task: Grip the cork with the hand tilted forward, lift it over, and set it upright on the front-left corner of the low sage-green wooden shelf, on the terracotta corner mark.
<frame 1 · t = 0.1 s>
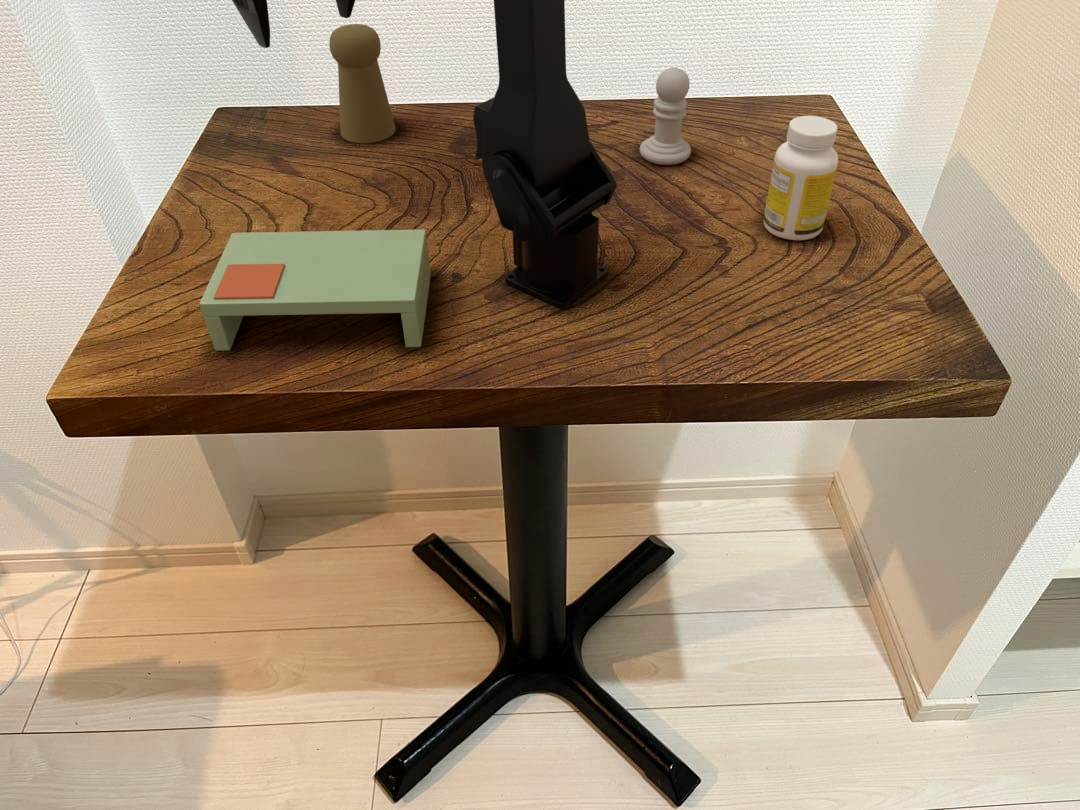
hand: (306, 31, 77), 15 cm above the table, tool pointing down, fingers open, 9 cm apart
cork: (368, 132, 95), on the table
chess piece: (664, 156, 90), on the table
shelf: (328, 310, 70), on the table
supplement bottle: (791, 228, 79), on the table
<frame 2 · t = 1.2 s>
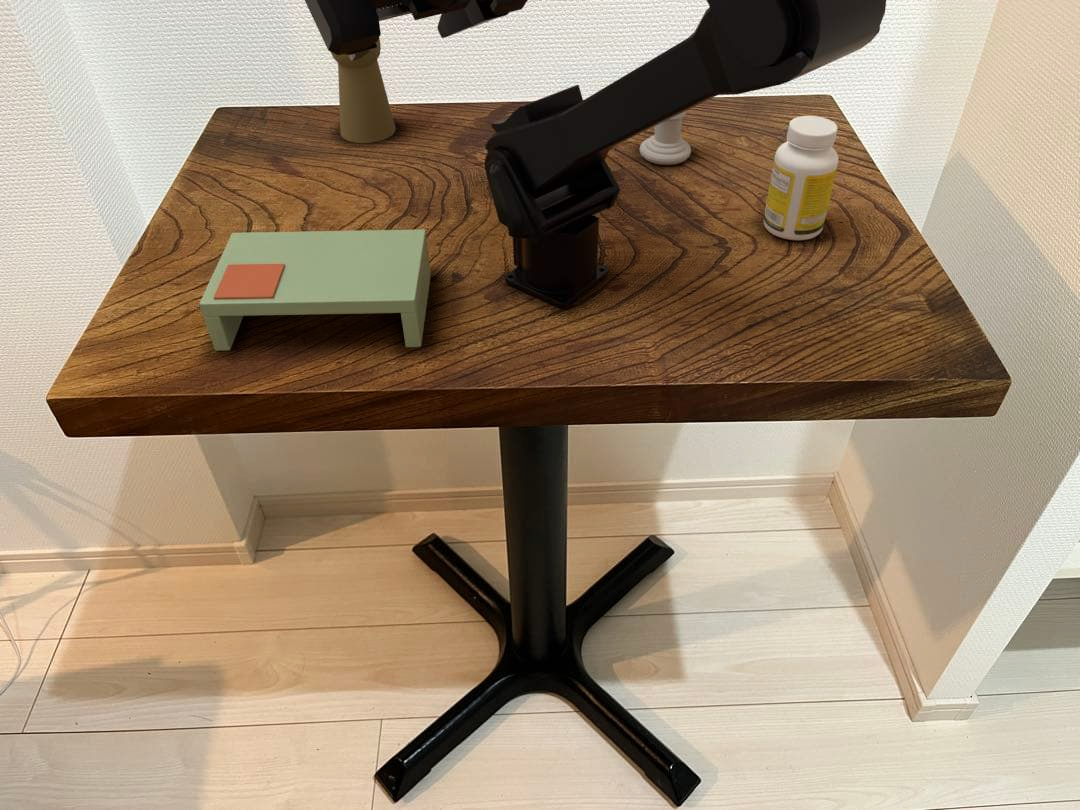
hand: (397, 44, 78), 13 cm above the table, tool tilted 45°, fingers open, 9 cm apart
nothing on the table moved.
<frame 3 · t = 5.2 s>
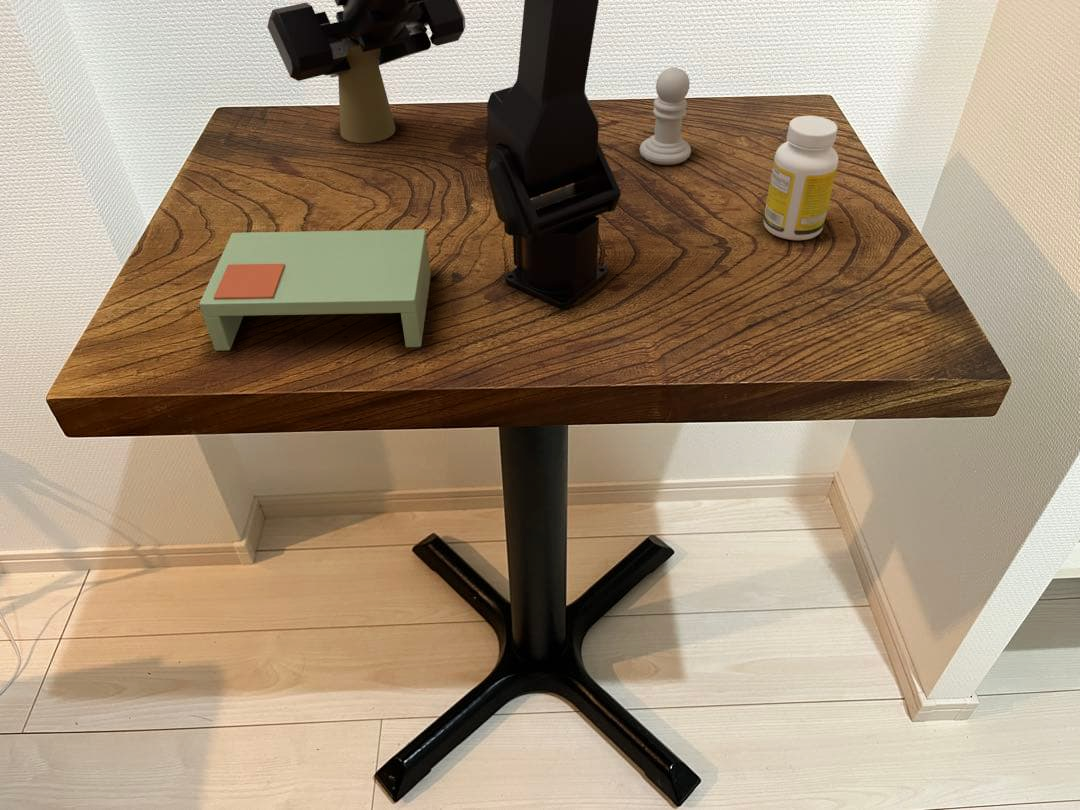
hand: (353, 67, 91), 7 cm above the table, tool tilted 45°, fingers closed on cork, 5 cm apart
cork: (368, 132, 95), on the table, touching gripper
everything else where it was.
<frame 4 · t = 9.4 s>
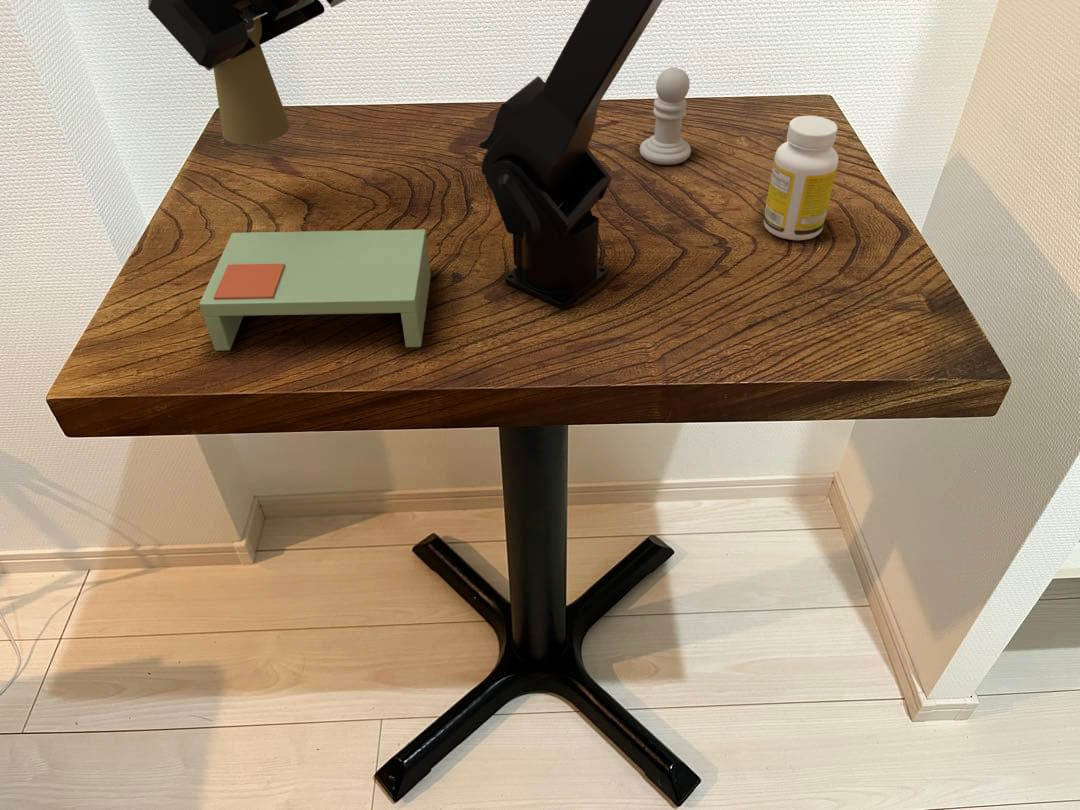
hand: (226, 54, 75), 14 cm above the table, tool tilted 45°, fingers closed on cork, 5 cm apart
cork: (257, 131, 79), point 7 cm above the table, touching gripper
everything else where it was.
when the fingers open (11 cm above the table, at t = 13.6 s): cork stays where it is, resting on shelf.
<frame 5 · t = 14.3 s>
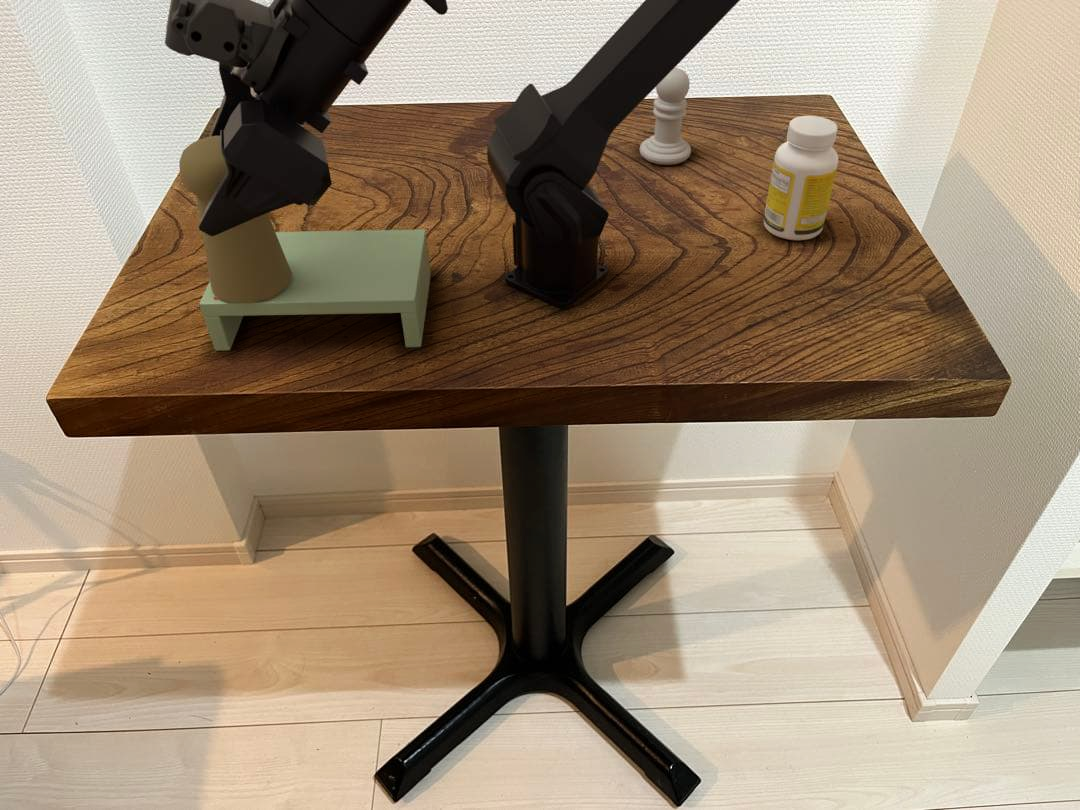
hand: (205, 198, 60), 12 cm above the table, tool tilted 45°, fingers open, 9 cm apart
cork: (252, 282, 66), point 5 cm above the table, touching shelf
everything else where it was.
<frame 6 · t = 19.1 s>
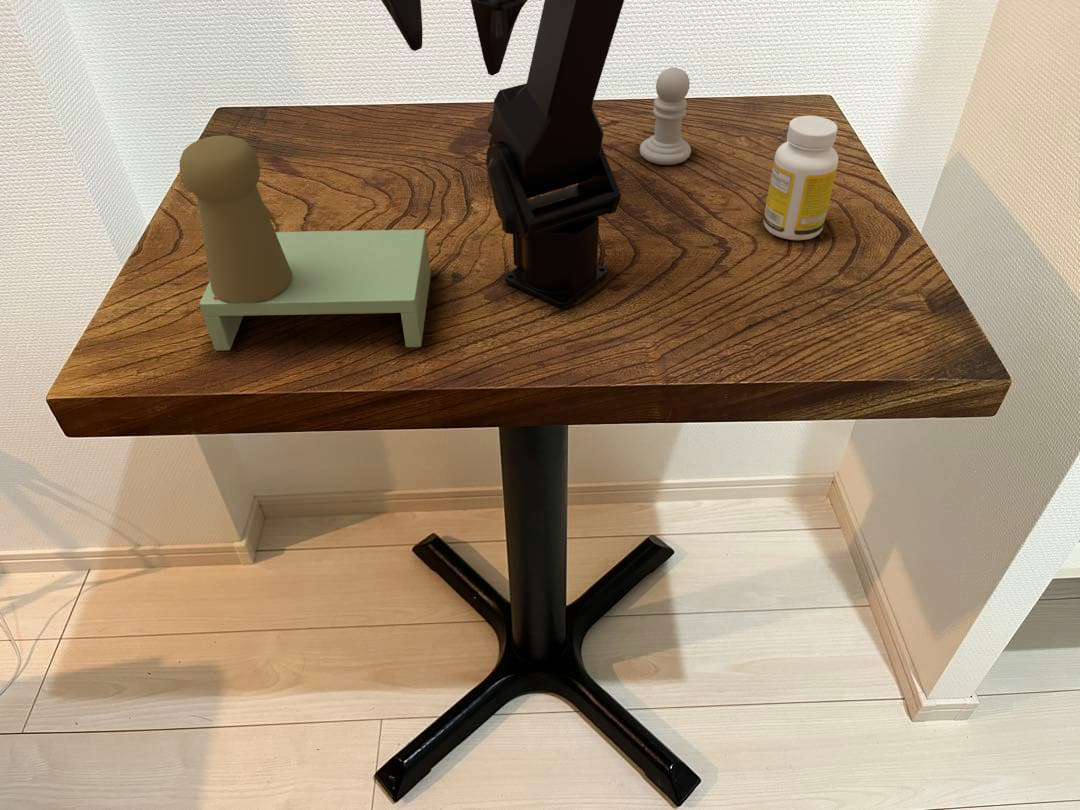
hand: (454, 61, 75), 13 cm above the table, tool pointing down, fingers open, 9 cm apart
nothing on the table moved.
at the end: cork inside the target area on the shelf (0.2 cm from its centre), point 4.5 cm above the shelf's base; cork tilted 0° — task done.
